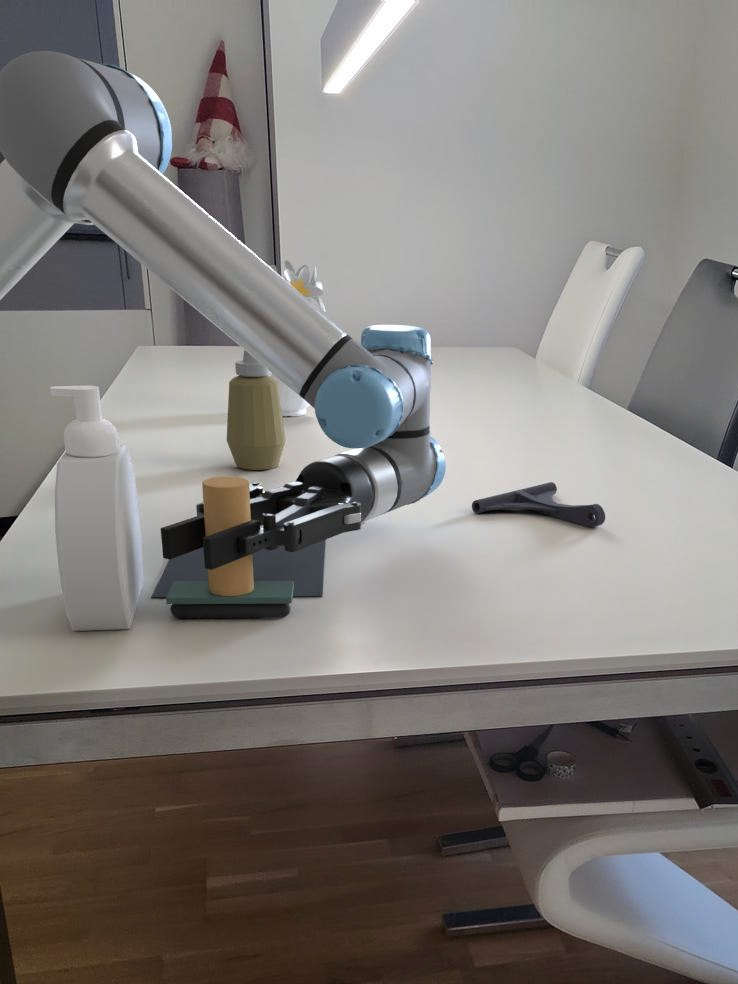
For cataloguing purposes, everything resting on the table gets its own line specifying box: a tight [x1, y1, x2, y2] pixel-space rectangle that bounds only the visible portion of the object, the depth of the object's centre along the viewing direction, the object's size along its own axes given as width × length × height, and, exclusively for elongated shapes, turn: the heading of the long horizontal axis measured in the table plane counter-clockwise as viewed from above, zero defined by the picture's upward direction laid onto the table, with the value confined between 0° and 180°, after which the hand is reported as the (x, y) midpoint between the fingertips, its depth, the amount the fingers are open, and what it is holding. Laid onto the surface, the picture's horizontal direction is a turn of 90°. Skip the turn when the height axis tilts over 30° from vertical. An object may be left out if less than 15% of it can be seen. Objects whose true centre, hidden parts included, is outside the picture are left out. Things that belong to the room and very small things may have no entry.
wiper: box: [165, 476, 294, 619], centre depth 93 cm, size 11×5×12 cm, turn 97°
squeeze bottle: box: [226, 349, 287, 471], centre depth 142 cm, size 8×8×18 cm
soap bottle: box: [49, 385, 144, 632], centre depth 91 cm, size 16×5×20 cm, turn 12°
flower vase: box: [268, 259, 327, 417], centre depth 176 cm, size 13×18×25 cm
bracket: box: [471, 481, 606, 528], centre depth 128 cm, size 14×15×3 cm
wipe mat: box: [151, 534, 326, 599], centre depth 109 cm, size 16×22×1 cm
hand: (186, 548), depth 88 cm, fingers closed on wiper, 4 cm apart
